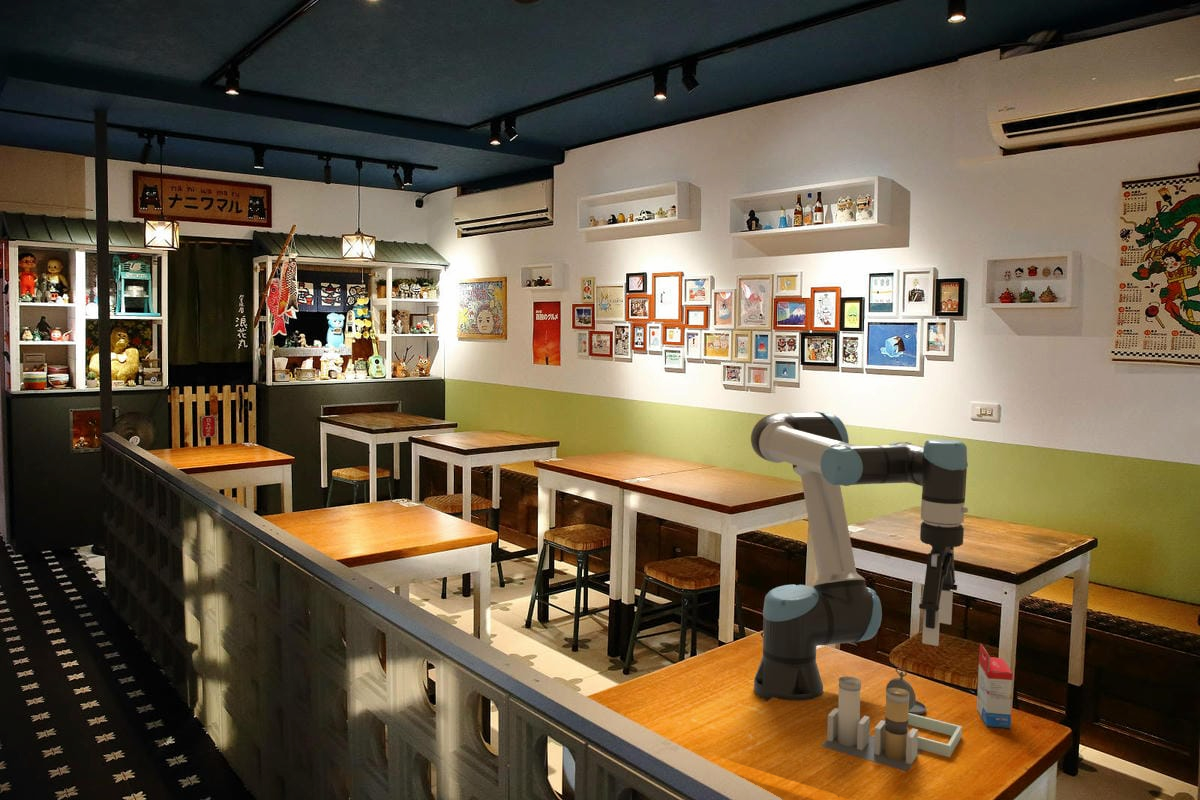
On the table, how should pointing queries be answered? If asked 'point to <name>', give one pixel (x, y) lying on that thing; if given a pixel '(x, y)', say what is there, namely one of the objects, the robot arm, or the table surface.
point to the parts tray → (937, 727)
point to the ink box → (994, 690)
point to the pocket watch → (914, 705)
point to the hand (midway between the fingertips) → (937, 633)
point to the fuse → (848, 710)
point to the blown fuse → (896, 723)
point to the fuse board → (871, 743)
